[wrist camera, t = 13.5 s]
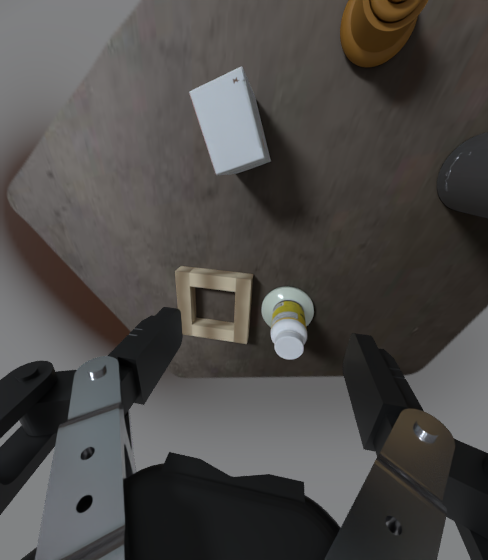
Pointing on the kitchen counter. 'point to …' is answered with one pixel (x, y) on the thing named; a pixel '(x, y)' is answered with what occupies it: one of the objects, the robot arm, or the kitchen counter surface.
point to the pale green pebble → (286, 293)
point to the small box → (231, 123)
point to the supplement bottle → (288, 329)
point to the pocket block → (220, 281)
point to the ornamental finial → (377, 29)
